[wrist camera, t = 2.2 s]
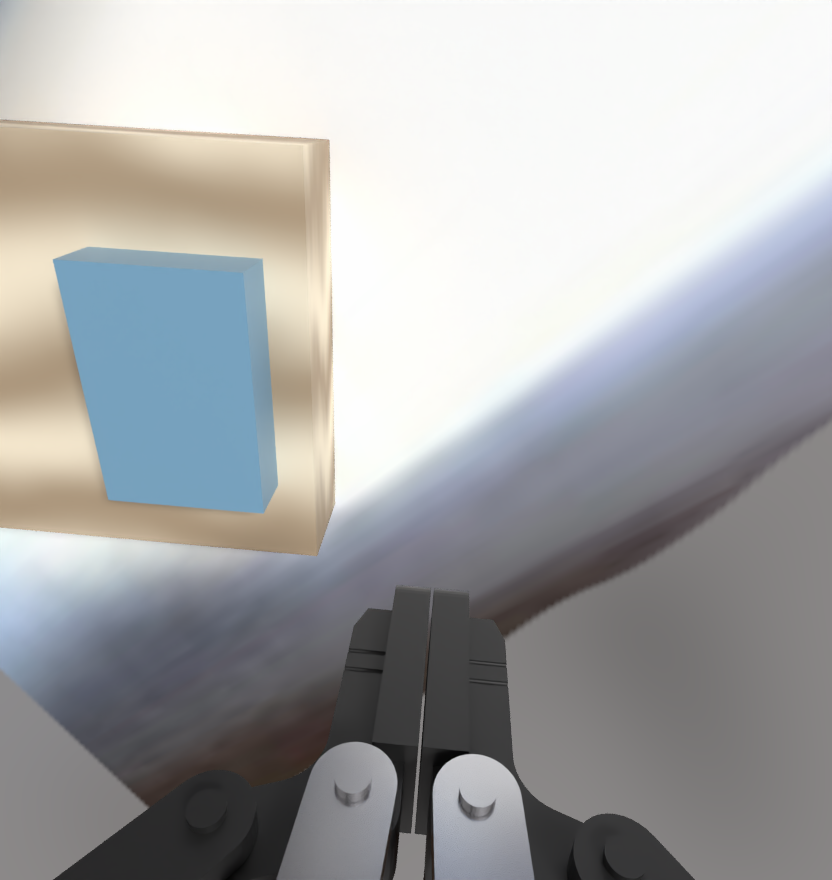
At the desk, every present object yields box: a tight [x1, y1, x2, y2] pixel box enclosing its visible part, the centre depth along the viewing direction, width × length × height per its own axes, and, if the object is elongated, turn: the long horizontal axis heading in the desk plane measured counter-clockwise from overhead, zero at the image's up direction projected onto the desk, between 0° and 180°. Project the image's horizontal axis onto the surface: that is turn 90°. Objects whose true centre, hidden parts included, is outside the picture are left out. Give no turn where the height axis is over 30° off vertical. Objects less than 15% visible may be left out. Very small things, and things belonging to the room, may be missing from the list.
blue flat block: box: [53, 247, 278, 514], centre depth 22 cm, size 9×6×2 cm, turn 177°
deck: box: [0, 120, 335, 556], centre depth 25 cm, size 16×16×4 cm
